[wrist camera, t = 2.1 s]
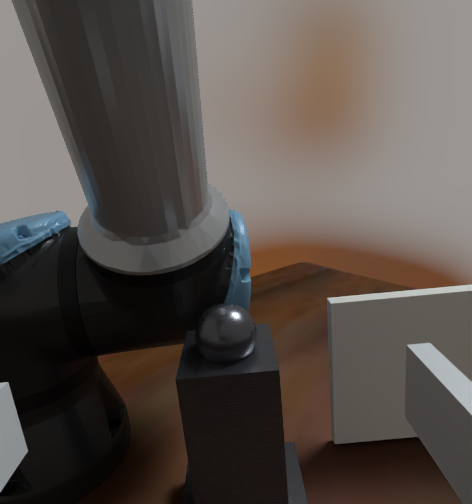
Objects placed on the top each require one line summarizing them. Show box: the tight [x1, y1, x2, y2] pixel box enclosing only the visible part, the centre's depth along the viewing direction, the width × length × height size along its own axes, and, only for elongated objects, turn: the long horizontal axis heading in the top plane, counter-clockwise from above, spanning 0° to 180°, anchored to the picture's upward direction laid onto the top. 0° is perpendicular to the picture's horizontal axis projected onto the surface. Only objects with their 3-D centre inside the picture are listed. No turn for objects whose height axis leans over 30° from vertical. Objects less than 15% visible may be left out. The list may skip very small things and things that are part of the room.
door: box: [327, 285, 472, 444], centre depth 34 cm, size 17×3×14 cm, turn 91°
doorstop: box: [176, 303, 308, 504], centre depth 26 cm, size 9×9×18 cm
